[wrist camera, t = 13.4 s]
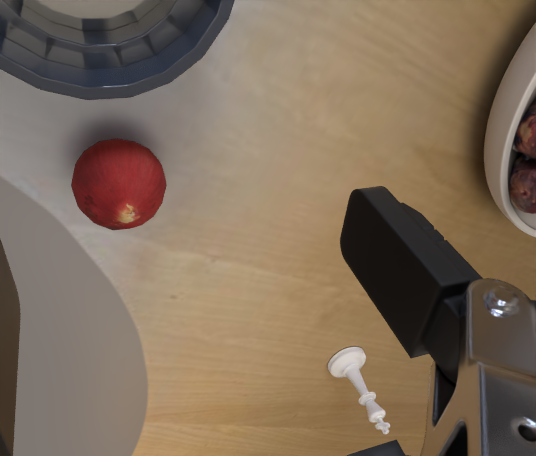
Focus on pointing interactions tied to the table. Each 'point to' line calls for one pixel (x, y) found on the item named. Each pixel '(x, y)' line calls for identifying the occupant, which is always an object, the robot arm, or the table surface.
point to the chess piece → (358, 382)
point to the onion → (118, 184)
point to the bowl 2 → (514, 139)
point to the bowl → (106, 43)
